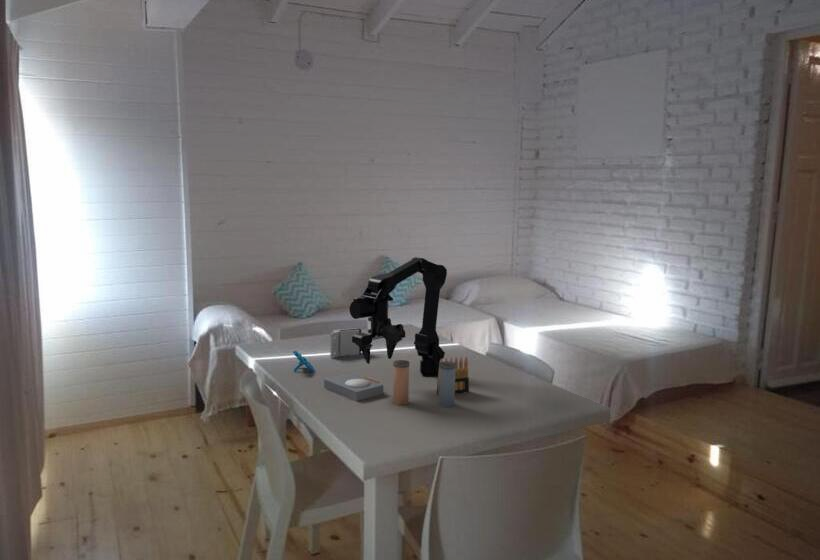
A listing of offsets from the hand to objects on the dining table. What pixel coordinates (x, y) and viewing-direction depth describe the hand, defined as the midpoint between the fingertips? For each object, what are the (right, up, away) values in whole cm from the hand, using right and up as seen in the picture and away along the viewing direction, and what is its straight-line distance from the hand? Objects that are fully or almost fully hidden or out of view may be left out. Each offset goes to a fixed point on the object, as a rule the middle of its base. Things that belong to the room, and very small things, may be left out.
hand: (379, 361), depth 222 cm
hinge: (-15, -3, +41) cm, 44 cm away
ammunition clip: (+24, -10, -4) cm, 27 cm away
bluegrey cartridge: (+22, -12, -15) cm, 29 cm away
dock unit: (-8, -9, -3) cm, 13 cm away
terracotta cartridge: (+7, -11, -14) cm, 19 cm away
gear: (-28, -6, +20) cm, 35 cm away
